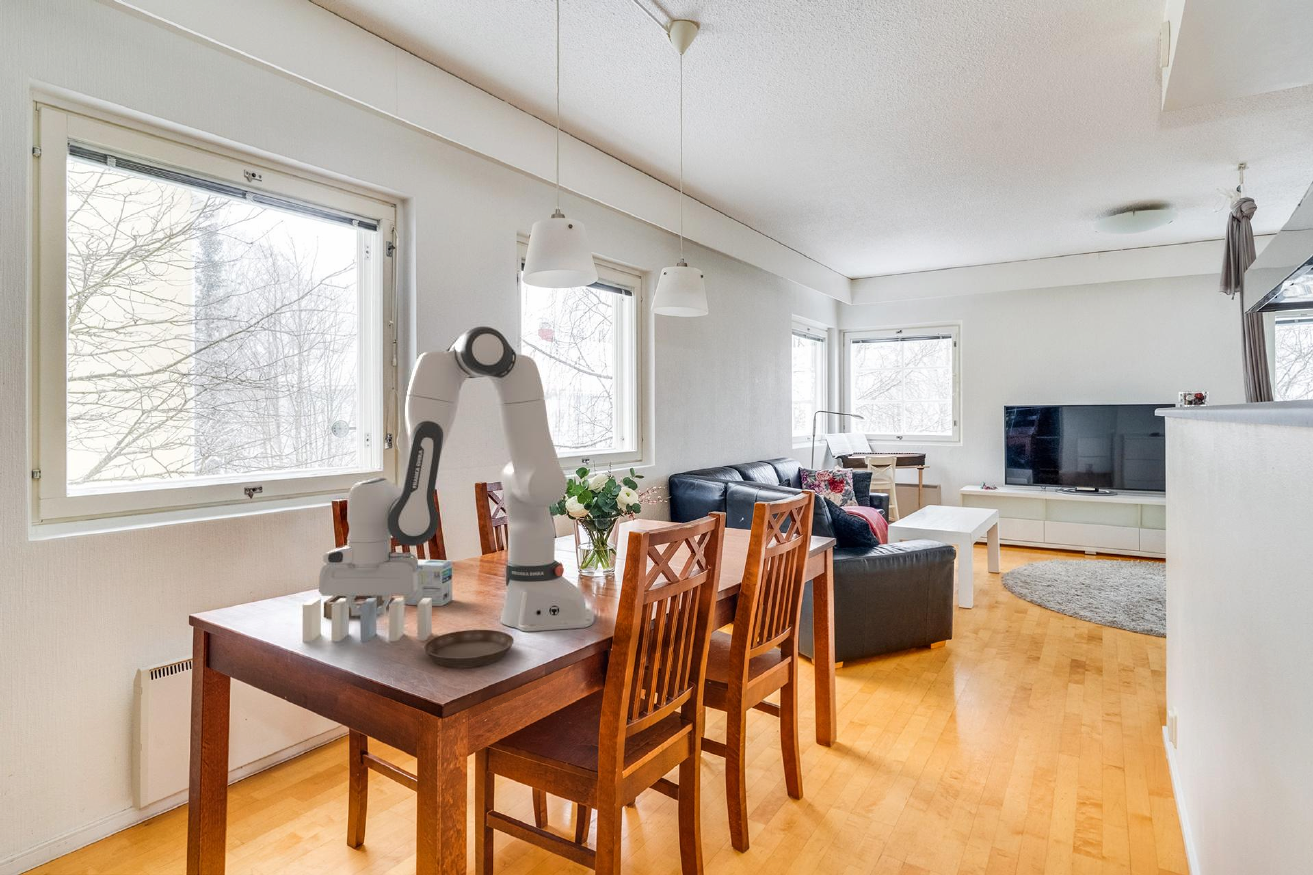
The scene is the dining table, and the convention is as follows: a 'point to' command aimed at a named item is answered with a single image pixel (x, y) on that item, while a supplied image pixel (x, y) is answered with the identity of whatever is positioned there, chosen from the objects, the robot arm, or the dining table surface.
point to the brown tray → (334, 598)
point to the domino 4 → (396, 619)
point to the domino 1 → (311, 619)
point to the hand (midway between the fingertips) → (368, 614)
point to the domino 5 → (424, 619)
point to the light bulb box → (432, 582)
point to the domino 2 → (340, 619)
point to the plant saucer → (468, 648)
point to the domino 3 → (368, 619)
